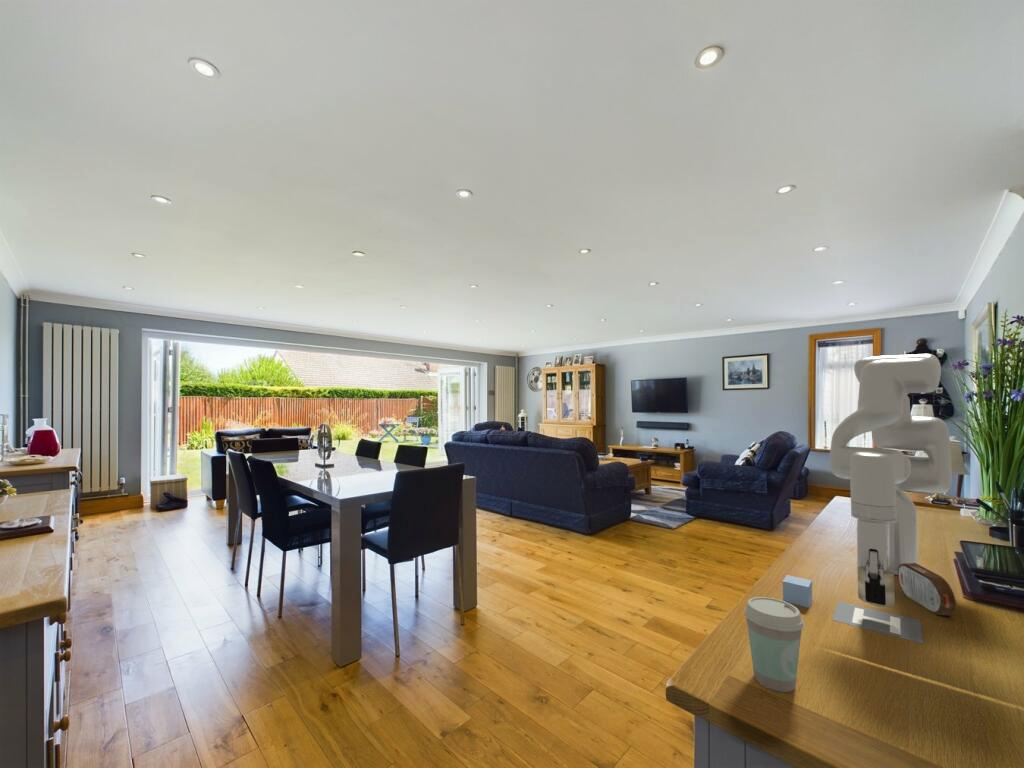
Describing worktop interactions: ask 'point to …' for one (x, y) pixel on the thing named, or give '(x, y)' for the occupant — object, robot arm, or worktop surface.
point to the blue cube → (797, 591)
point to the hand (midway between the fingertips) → (876, 596)
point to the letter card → (879, 621)
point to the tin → (926, 589)
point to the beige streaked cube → (887, 581)
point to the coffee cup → (774, 641)
